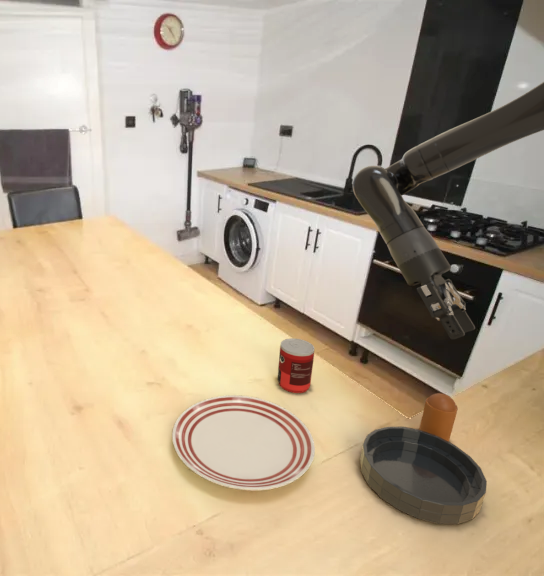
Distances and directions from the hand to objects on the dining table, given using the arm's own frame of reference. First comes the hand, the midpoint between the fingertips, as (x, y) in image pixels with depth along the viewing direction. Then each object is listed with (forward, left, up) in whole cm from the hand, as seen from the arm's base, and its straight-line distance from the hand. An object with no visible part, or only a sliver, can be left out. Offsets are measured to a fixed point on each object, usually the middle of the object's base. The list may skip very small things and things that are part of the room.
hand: (464, 334), depth 74 cm
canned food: (+23, -19, -24) cm, 39 cm away
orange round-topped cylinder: (0, -1, -24) cm, 24 cm away
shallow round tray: (+9, +11, -24) cm, 28 cm away
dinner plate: (+39, +2, -24) cm, 46 cm away
